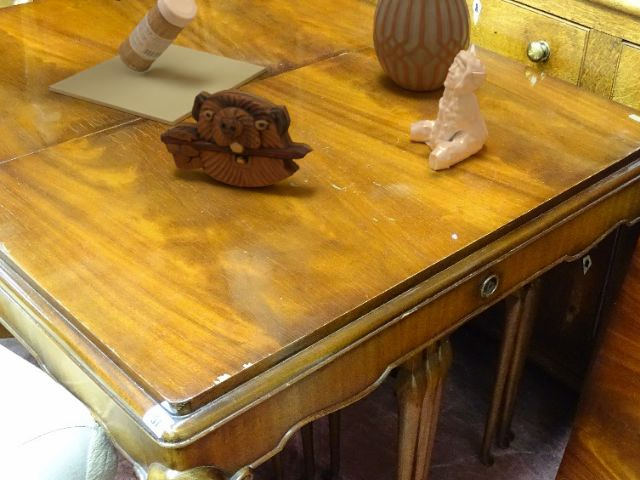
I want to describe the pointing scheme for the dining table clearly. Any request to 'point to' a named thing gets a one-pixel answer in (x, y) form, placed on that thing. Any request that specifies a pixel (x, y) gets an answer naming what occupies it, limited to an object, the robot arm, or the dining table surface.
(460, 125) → the white creature statuette
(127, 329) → the dining table surface
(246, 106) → the wooden carving
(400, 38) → the vase
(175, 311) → the dining table surface
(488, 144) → the dining table surface
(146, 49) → the sprinkles bottle
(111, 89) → the felt mat
